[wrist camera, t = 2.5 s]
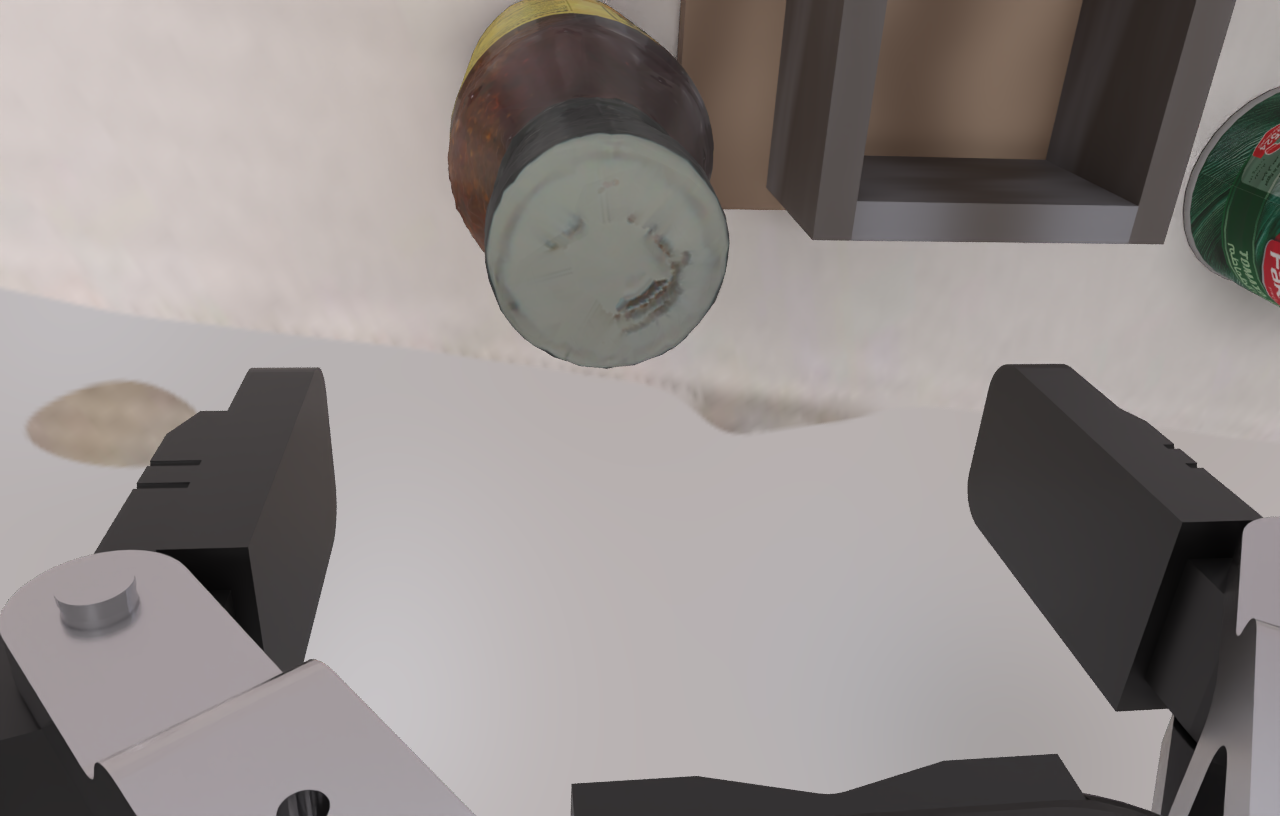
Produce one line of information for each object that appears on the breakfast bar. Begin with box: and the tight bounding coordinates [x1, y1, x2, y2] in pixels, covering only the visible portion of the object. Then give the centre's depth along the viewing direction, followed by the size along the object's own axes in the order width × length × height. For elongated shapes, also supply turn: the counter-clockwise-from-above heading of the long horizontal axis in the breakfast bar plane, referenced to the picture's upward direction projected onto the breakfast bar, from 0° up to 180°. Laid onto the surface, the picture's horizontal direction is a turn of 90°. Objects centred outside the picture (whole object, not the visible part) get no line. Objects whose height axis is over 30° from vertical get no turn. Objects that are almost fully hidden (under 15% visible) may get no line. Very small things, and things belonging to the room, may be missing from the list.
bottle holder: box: [677, 0, 1236, 244], centre depth 31 cm, size 18×14×7 cm
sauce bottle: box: [448, 0, 729, 369], centre depth 25 cm, size 7×6×20 cm
